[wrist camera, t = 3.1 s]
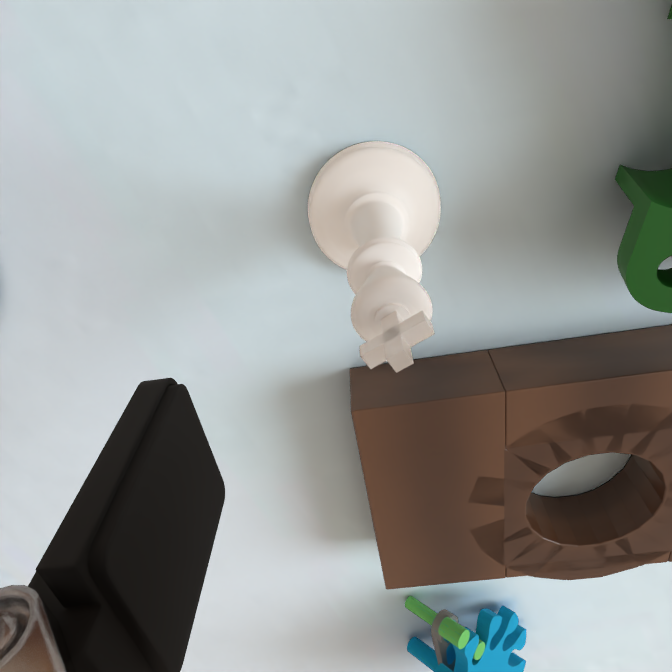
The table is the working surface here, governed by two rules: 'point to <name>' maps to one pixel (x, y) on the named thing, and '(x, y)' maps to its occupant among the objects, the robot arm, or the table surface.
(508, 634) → the blue slotted cogwheel
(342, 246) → the chess piece
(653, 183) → the clamp
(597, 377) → the pad
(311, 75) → the table surface
